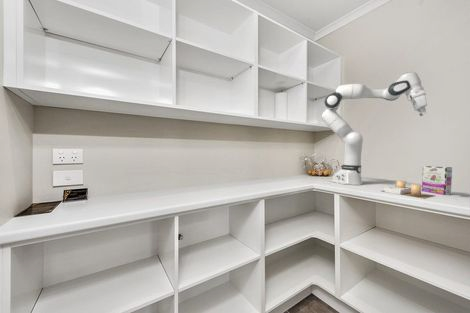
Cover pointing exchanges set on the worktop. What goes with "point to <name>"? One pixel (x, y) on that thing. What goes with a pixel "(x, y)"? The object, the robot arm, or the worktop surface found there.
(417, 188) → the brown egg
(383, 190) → the assembly board
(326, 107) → the robot arm
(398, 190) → the housing
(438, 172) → the candy bar box
